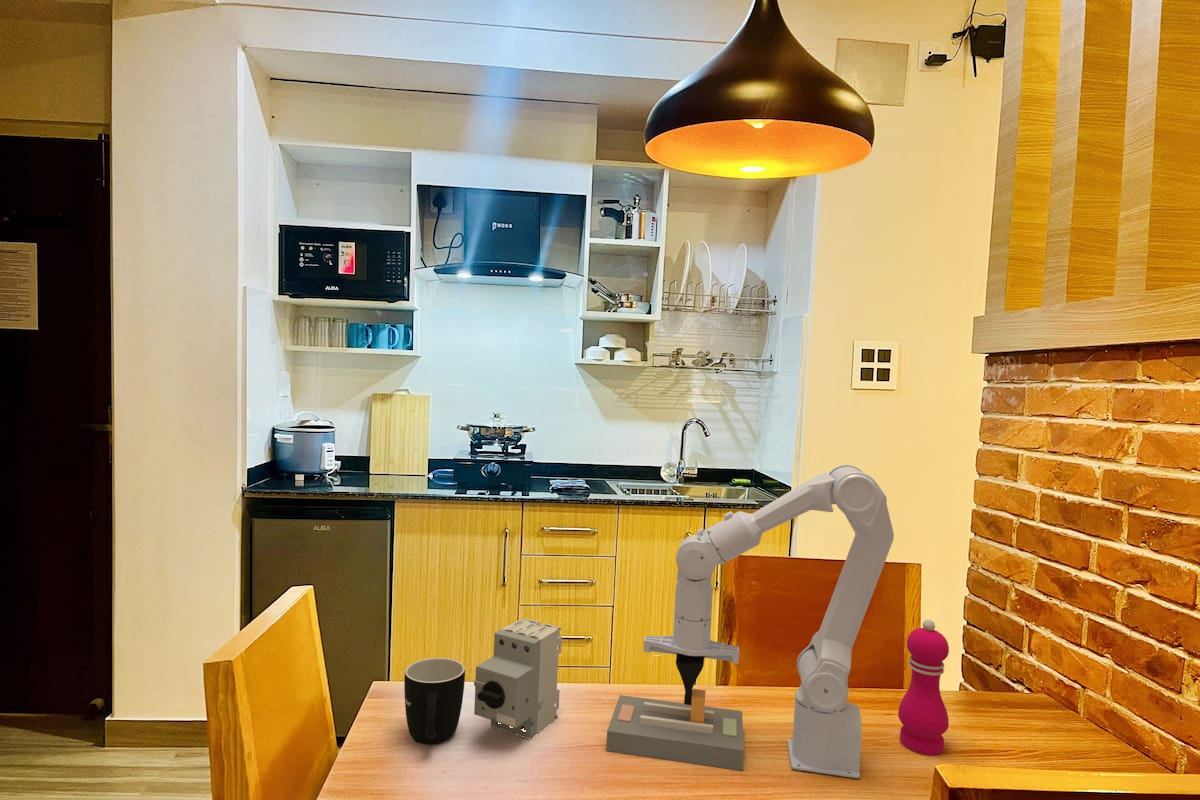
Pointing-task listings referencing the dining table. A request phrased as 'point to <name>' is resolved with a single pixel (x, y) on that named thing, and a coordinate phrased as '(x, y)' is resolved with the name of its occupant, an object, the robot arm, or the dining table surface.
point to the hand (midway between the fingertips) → (688, 701)
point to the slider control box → (676, 733)
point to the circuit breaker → (520, 678)
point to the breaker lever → (698, 706)
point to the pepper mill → (924, 692)
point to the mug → (433, 699)
